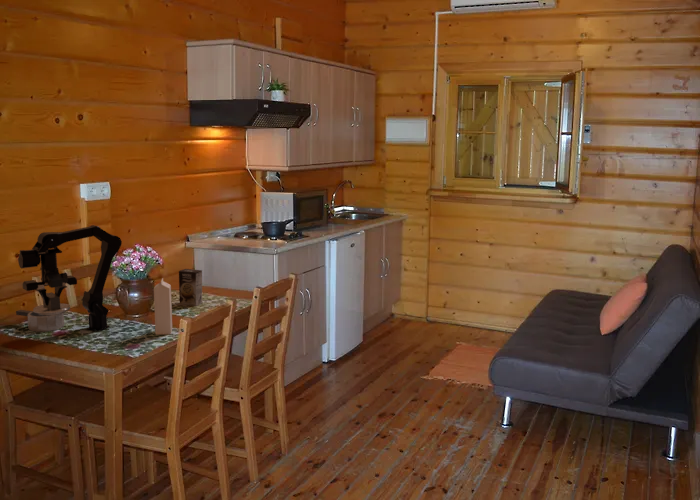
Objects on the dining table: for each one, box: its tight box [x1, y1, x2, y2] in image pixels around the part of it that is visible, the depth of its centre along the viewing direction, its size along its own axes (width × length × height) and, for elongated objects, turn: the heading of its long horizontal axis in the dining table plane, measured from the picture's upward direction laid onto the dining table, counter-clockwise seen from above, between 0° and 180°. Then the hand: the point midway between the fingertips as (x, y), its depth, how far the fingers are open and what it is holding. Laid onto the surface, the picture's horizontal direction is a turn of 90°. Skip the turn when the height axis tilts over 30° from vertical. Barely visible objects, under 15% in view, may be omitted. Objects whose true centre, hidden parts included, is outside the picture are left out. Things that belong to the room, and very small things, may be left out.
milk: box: [153, 277, 173, 336], centre depth 270 cm, size 6×6×22 cm
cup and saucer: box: [32, 292, 71, 315], centre depth 263 cm, size 13×13×7 cm
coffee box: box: [178, 268, 203, 307], centre depth 317 cm, size 9×6×16 cm
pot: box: [15, 309, 65, 333], centre depth 278 cm, size 21×13×6 cm, turn 71°
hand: (51, 304), depth 263 cm, fingers closed on cup and saucer, 3 cm apart
